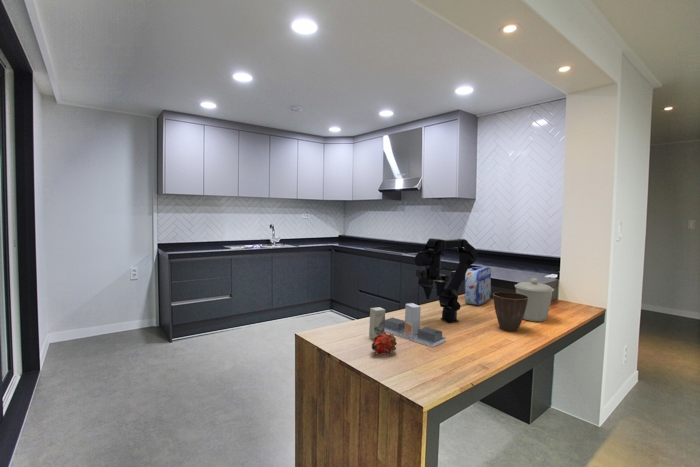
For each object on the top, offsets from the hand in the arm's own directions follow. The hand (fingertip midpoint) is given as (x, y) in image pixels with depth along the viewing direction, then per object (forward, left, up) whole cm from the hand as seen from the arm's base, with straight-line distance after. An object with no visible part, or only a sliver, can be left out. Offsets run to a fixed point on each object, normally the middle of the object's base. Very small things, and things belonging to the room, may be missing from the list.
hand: (433, 297), depth 171 cm
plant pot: (-30, +18, -13) cm, 37 cm away
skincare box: (+18, +10, -12) cm, 23 cm away
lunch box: (-52, -26, -13) cm, 60 cm away
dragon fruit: (+39, +23, -13) cm, 47 cm away
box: (+34, +8, -13) cm, 37 cm away
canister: (-55, +10, -13) cm, 57 cm away
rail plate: (+18, +10, -13) cm, 24 cm away
